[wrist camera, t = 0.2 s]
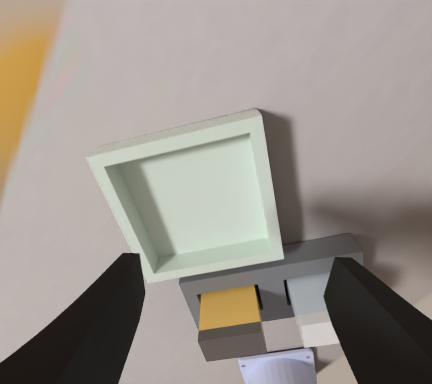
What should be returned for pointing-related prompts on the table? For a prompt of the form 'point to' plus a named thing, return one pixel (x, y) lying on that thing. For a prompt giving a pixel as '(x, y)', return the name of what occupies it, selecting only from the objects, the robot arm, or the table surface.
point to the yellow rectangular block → (231, 324)
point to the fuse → (311, 309)
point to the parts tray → (193, 196)
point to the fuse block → (273, 275)
